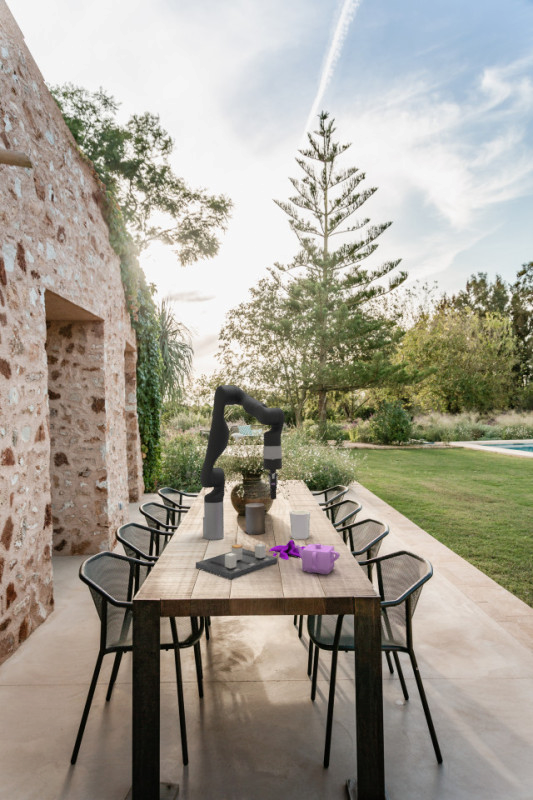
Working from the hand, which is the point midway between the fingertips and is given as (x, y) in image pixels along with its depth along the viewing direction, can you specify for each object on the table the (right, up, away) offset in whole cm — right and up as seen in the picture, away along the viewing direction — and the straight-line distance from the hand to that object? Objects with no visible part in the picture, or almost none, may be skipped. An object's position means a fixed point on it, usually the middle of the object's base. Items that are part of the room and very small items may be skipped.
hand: (273, 497), depth 195 cm
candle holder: (+13, -26, +35) cm, 45 cm away
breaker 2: (-5, -23, -3) cm, 24 cm away
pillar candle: (-8, -27, +45) cm, 53 cm away
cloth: (+7, -27, +9) cm, 29 cm away
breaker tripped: (-14, -23, -5) cm, 28 cm away
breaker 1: (-16, -23, -14) cm, 32 cm away
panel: (-14, -26, -5) cm, 30 cm away
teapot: (+16, -25, -12) cm, 33 cm away
